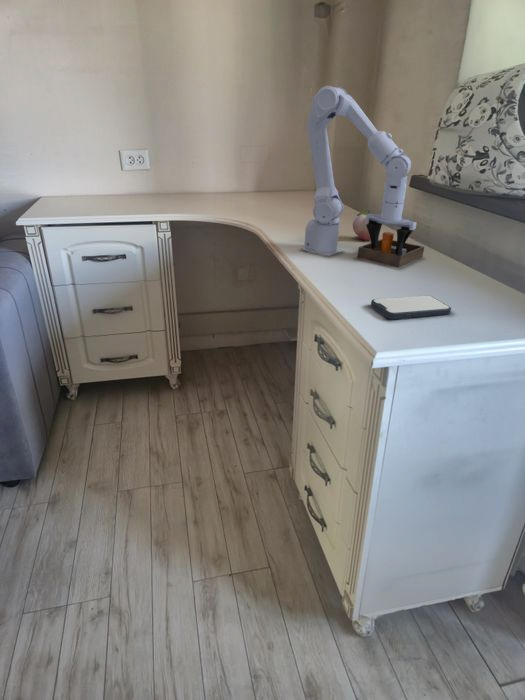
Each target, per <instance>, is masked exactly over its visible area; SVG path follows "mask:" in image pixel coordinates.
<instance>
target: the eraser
mask: <svg viewBox="0 0 525 700" xmlns="http://www.w3.org/2000/svg"><path fill="white" fill-rule="evenodd" d="M406 250H407V249H404V248H402V251H401V253H400V254H395V251H396V247H395V246H392V247H391V254H393V255H398V256H401V255H403V254H406Z"/></svg>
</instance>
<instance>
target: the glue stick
mask: <svg viewBox="0 0 525 700" xmlns="http://www.w3.org/2000/svg"><path fill="white" fill-rule="evenodd" d="M394 237H395V234H394V232H389V231H384V232H382V238H381V239H383V240H382V246H381V252H385V253H389V254H391V247H392V241H393V240H394Z"/></svg>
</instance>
